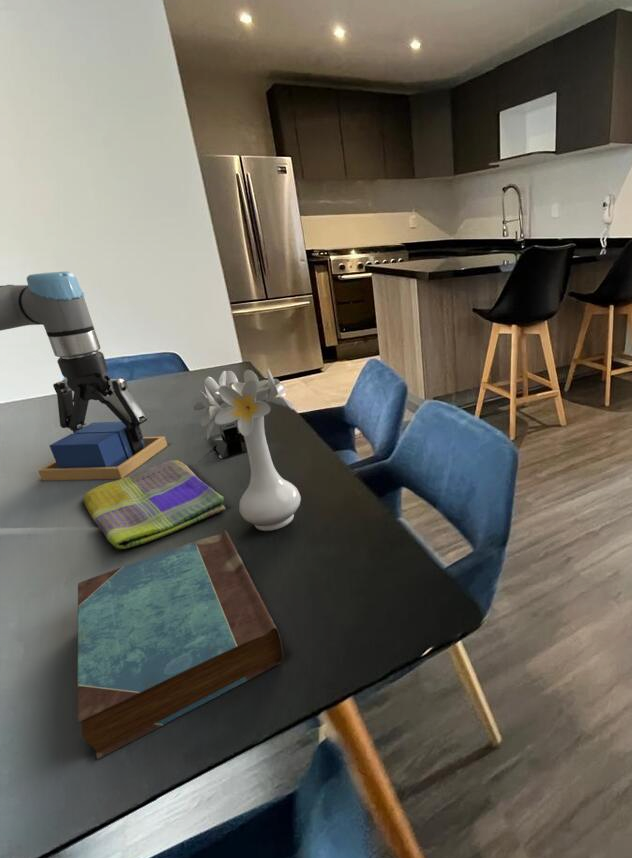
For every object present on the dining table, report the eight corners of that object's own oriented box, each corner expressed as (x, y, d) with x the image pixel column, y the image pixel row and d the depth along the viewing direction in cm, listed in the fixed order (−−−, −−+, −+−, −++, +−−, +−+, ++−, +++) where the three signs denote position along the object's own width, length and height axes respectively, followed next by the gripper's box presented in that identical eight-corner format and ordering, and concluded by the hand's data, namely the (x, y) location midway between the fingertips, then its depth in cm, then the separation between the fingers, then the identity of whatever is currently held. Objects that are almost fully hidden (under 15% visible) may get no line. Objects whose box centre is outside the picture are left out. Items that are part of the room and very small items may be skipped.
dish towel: (112, 559, 72) (106, 544, 71) (83, 502, 89) (77, 488, 88) (231, 510, 83) (227, 496, 82) (185, 467, 100) (181, 455, 99)
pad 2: (84, 463, 103) (73, 432, 100) (103, 451, 108) (92, 422, 105) (129, 462, 102) (119, 431, 99) (146, 450, 107) (136, 420, 104)
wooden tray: (43, 483, 97) (37, 470, 96) (98, 449, 111) (94, 438, 110) (122, 481, 96) (118, 468, 94) (168, 447, 109) (164, 436, 108)
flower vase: (279, 486, 90) (250, 353, 80) (336, 522, 78) (309, 370, 68) (207, 517, 81) (164, 372, 72) (257, 563, 69) (214, 396, 60)
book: (286, 661, 53) (277, 626, 51) (93, 762, 44) (73, 724, 42) (235, 558, 71) (227, 529, 69) (89, 615, 62) (75, 583, 60)
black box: (256, 449, 106) (252, 429, 104) (221, 460, 102) (216, 439, 100) (241, 432, 115) (236, 414, 113) (208, 441, 111) (203, 422, 110)
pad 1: (62, 477, 97) (49, 445, 95) (82, 464, 102) (71, 433, 100) (109, 476, 97) (97, 443, 94) (128, 463, 102) (117, 432, 99)
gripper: (145, 347, 99) (176, 446, 108) (41, 352, 101) (79, 449, 109) (120, 356, 92) (155, 462, 101) (9, 361, 94) (52, 465, 102)
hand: (115, 455), depth 105 cm, fingers closed on pad 2, 10 cm apart
